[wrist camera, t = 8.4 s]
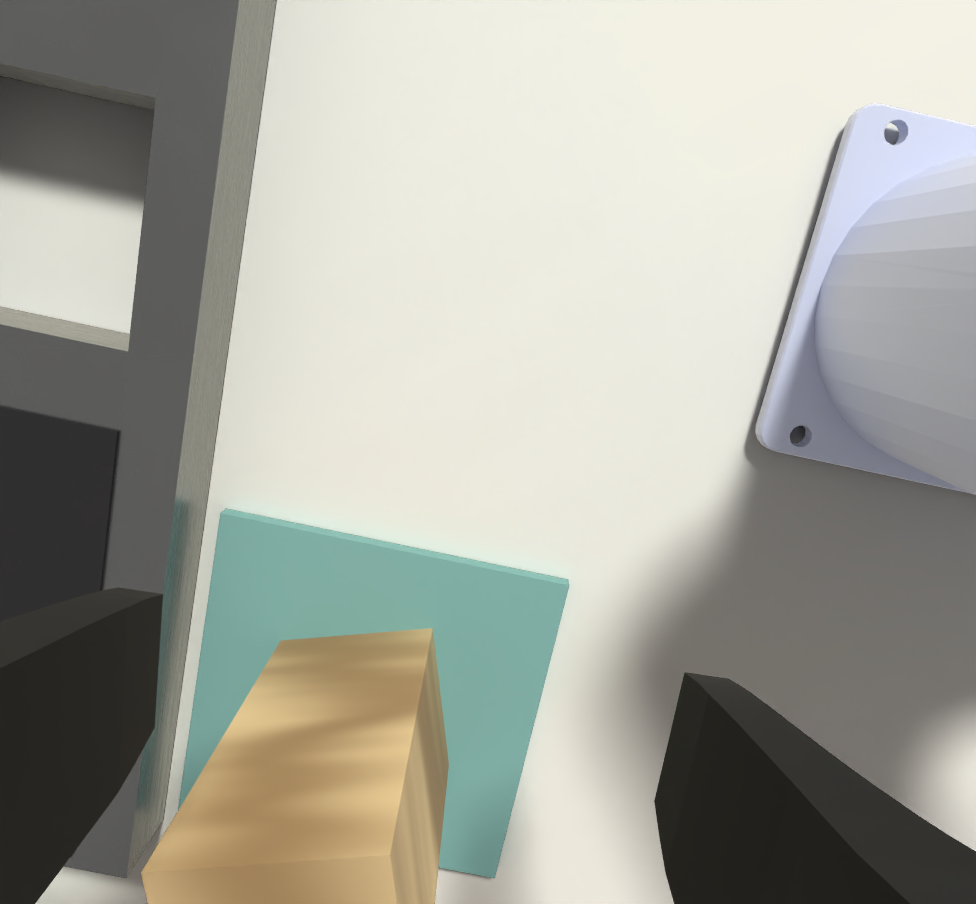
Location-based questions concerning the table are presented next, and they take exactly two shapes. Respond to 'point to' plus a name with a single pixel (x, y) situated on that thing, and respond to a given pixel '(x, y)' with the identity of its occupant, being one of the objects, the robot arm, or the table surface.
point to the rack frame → (133, 347)
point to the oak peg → (319, 783)
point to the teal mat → (384, 608)
